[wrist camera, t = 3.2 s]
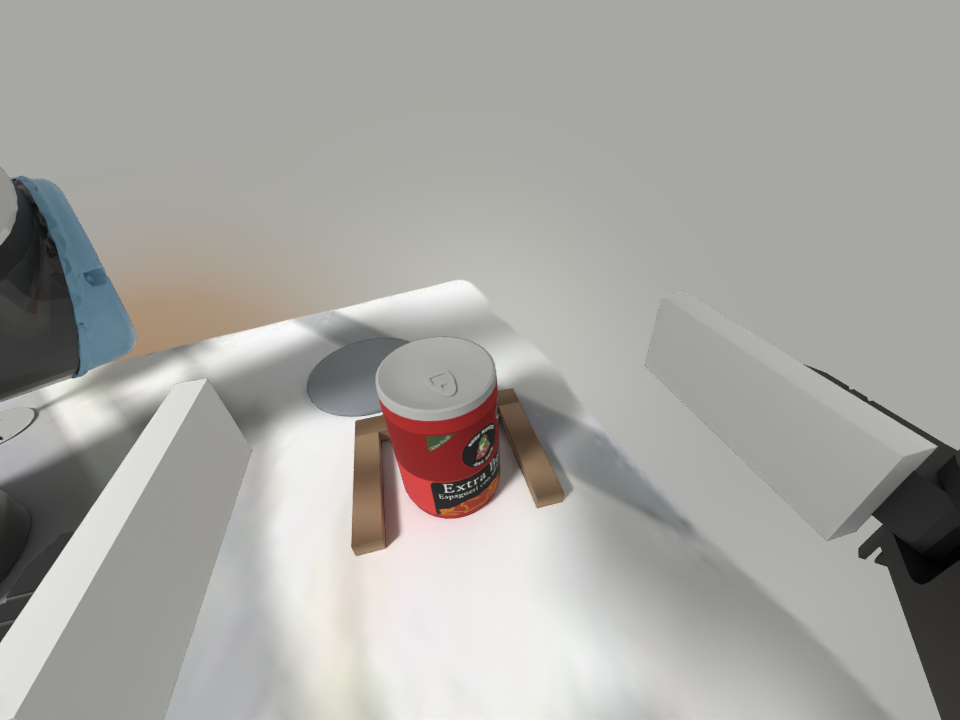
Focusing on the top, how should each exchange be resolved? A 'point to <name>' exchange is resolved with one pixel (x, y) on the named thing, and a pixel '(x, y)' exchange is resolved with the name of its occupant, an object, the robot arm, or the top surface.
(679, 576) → the top surface
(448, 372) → the canned food
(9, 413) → the wineglass
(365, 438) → the walnut cradle
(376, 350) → the slate mat
